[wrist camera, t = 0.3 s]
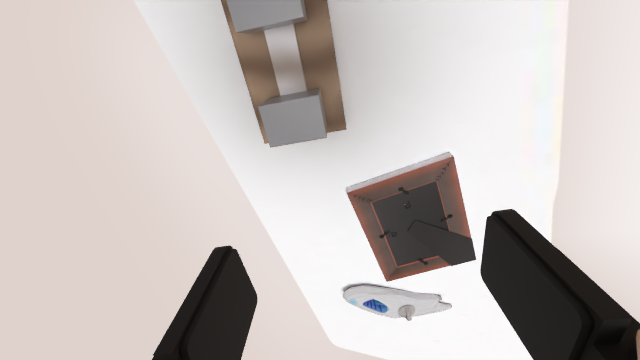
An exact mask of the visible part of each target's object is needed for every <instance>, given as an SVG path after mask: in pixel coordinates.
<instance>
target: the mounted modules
mask: <svg viewBox="0 0 640 360" xmlns="http://www.w3.org/2000/svg"><path fill="white" fill-rule="evenodd" d="M226 1H227V4H228V8H229V11H230V14H231V18H232V21H233V24H234V28H235V31H236V33H246V34H252V33H256V32H260V31H264V30H269V29H273V28H277V27H282V26H286V25H290V24H295V23H299V22H303V21H308V20H307V14H306V9H305V4H304V0H226ZM258 108H259V112H260V115H261V118H262V122H263V125H264V128H265V132H266V135H267V138H268V142H269V145H270V147H276V146H282V145H287V144H293V143H299V142H305V141H311V140H316V139H322V138H326V136H327V123H326V117H325V112H324V106H323V101H322V96H321V90H320V88H318V89H313V90H308V91H303V92H297V93H292V94H287V95H282V96H277V97H272V98H268V99H266V100H265V101H264V102H263V103H262V104H261V105H260V106H258Z"/></svg>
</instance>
